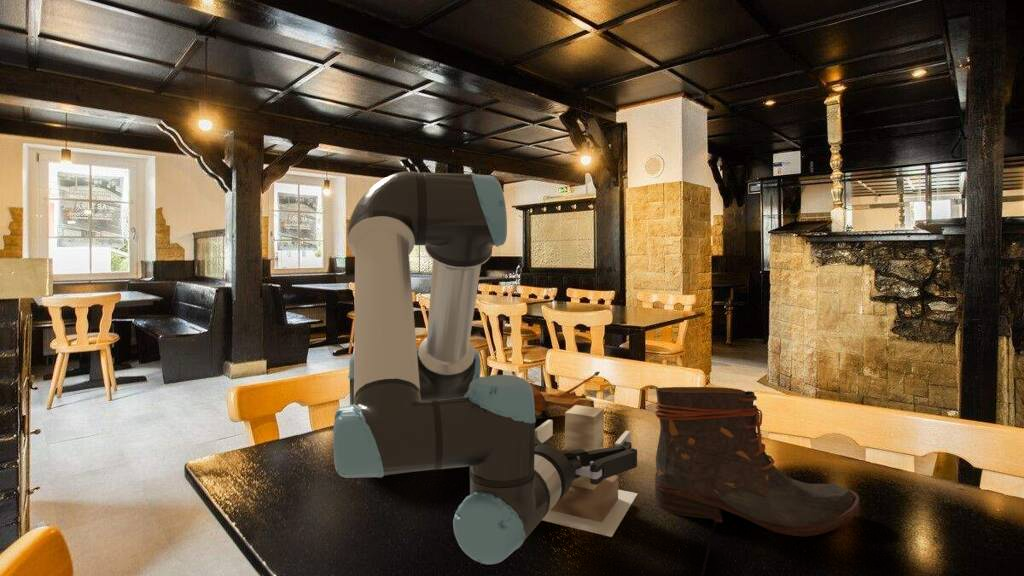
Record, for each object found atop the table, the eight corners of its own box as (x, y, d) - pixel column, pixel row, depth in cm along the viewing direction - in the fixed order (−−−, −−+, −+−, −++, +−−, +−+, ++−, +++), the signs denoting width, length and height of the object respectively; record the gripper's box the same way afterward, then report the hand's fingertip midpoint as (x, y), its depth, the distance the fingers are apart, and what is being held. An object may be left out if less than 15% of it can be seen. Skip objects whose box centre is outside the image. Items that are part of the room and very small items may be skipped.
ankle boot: (875, 544, 76) (880, 408, 75) (655, 522, 83) (656, 397, 82) (844, 508, 87) (848, 389, 86) (652, 491, 94) (653, 380, 93)
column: (565, 484, 87) (565, 412, 86) (575, 473, 91) (575, 405, 91) (594, 490, 85) (594, 416, 84) (603, 478, 89) (603, 408, 88)
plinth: (549, 510, 86) (549, 486, 86) (568, 488, 94) (568, 466, 94) (602, 522, 82) (602, 497, 82) (618, 498, 90) (618, 475, 90)
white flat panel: (462, 502, 90) (462, 500, 90) (506, 469, 104) (506, 467, 104) (611, 539, 78) (611, 536, 78) (637, 495, 92) (637, 493, 92)
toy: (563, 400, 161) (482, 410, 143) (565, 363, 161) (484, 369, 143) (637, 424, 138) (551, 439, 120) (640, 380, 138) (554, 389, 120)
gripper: (457, 490, 75) (521, 443, 94) (630, 529, 64) (663, 467, 83) (456, 439, 75) (521, 402, 94) (630, 469, 64) (663, 420, 83)
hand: (588, 432), depth 89 cm, fingers open, 13 cm apart
